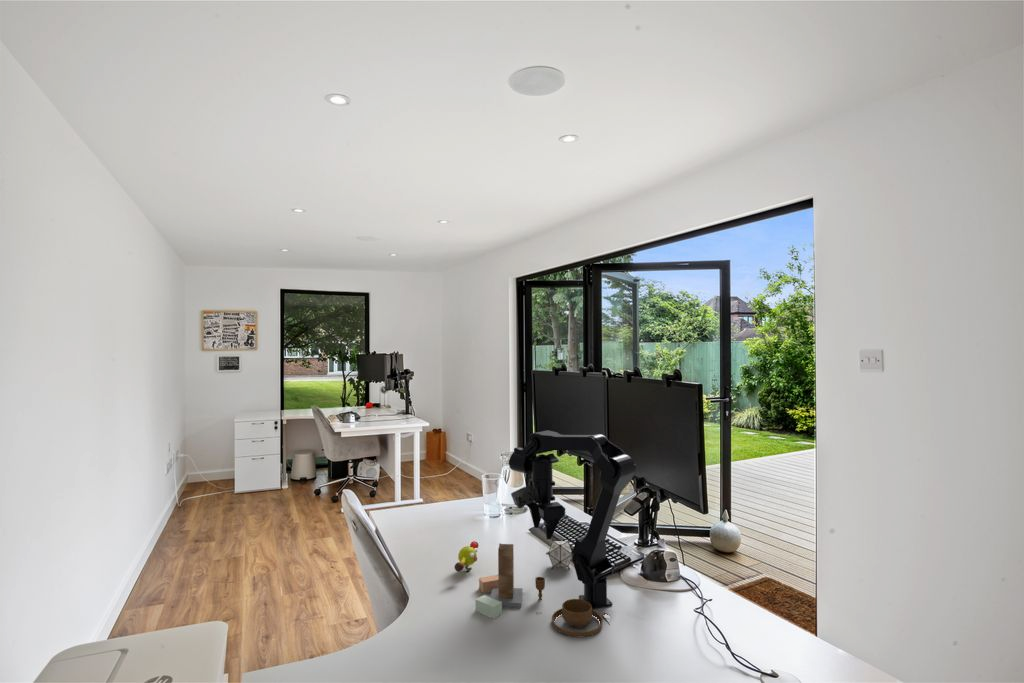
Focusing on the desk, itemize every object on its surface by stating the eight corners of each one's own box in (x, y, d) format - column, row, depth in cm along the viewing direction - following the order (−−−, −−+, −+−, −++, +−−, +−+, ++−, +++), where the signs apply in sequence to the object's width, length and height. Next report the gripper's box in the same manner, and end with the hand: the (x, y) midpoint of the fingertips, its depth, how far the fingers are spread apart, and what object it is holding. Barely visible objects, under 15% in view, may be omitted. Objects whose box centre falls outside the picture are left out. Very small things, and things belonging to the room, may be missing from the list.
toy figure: (468, 585, 151) (468, 560, 151) (449, 583, 152) (448, 558, 152) (485, 558, 168) (484, 536, 168) (467, 557, 169) (467, 535, 169)
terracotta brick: (500, 585, 151) (499, 574, 151) (504, 589, 148) (504, 578, 148) (479, 589, 149) (479, 578, 149) (482, 593, 146) (482, 582, 146)
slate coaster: (522, 592, 146) (522, 588, 146) (521, 607, 138) (521, 603, 138) (492, 592, 146) (492, 587, 146) (489, 607, 138) (489, 602, 138)
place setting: (542, 642, 124) (542, 615, 124) (532, 599, 144) (531, 576, 144) (619, 638, 125) (619, 612, 125) (598, 596, 145) (598, 574, 145)
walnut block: (513, 592, 144) (513, 544, 144) (512, 598, 140) (512, 549, 140) (499, 591, 144) (499, 543, 144) (498, 598, 140) (498, 549, 140)
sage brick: (501, 614, 135) (501, 602, 135) (493, 619, 133) (493, 606, 133) (483, 606, 139) (483, 594, 139) (475, 611, 137) (475, 599, 137)
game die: (564, 577, 163) (582, 547, 166) (564, 579, 155) (583, 547, 158) (539, 559, 166) (556, 530, 168) (537, 560, 158) (556, 529, 160)
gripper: (504, 471, 159) (504, 525, 160) (526, 488, 142) (526, 549, 142) (540, 468, 163) (540, 521, 163) (566, 484, 145) (566, 544, 145)
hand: (542, 533), depth 153 cm, fingers open, 9 cm apart
